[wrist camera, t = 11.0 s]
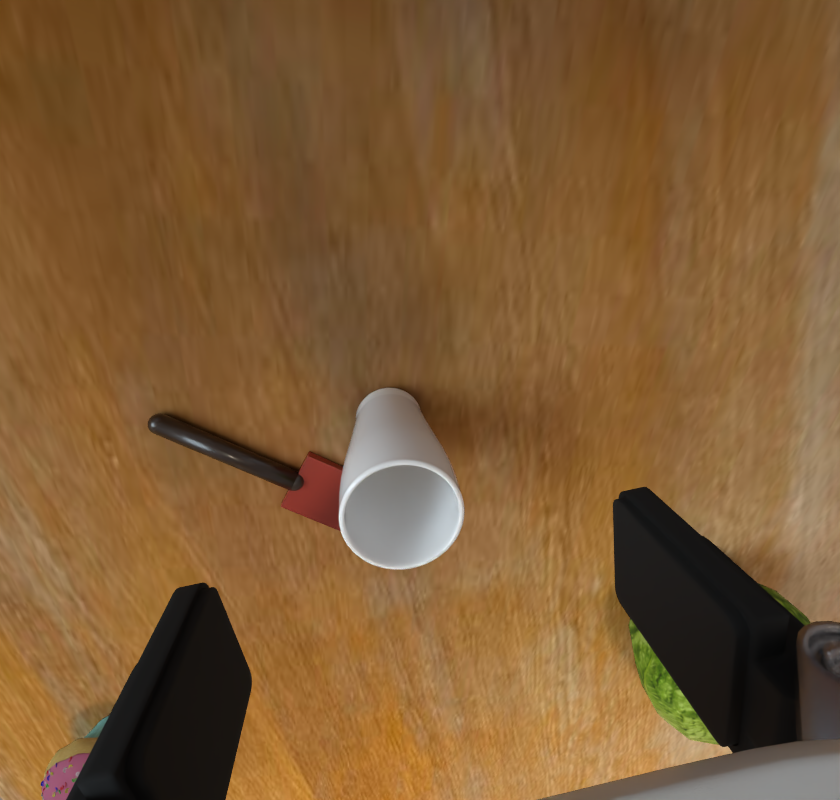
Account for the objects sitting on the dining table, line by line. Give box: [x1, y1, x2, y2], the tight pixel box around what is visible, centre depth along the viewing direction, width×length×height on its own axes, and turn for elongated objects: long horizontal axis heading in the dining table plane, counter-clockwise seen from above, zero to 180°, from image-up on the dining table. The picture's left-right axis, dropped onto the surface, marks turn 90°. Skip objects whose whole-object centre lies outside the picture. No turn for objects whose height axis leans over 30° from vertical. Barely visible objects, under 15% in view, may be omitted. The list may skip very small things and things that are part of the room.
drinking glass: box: [339, 388, 464, 569], centre depth 32 cm, size 7×7×15 cm
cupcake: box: [41, 716, 109, 800], centre depth 41 cm, size 9×8×12 cm
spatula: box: [148, 414, 343, 531], centre depth 38 cm, size 20×5×2 cm, turn 60°
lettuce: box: [629, 583, 810, 745], centre depth 45 cm, size 14×23×14 cm
